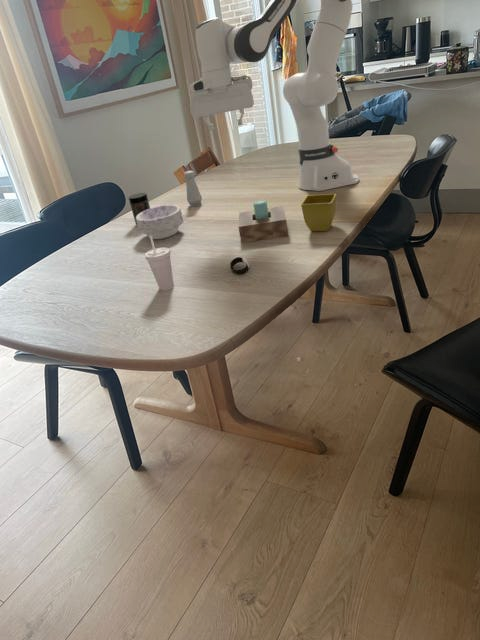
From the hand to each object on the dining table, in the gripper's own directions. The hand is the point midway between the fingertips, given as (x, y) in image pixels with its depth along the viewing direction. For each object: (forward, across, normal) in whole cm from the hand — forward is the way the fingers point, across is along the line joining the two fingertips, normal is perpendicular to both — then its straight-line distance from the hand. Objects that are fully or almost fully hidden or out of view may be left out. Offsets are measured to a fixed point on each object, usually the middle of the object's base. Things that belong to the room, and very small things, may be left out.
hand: (226, 127), depth 152 cm
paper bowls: (+29, +27, +10) cm, 40 cm away
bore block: (+28, -7, +24) cm, 38 cm away
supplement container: (+28, +36, -7) cm, 47 cm away
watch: (+29, 0, +50) cm, 58 cm away
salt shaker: (+29, +18, -21) cm, 40 cm away
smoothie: (+28, +19, +54) cm, 64 cm away
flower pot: (+29, -24, +29) cm, 47 cm away
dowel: (+28, -7, +24) cm, 37 cm away
